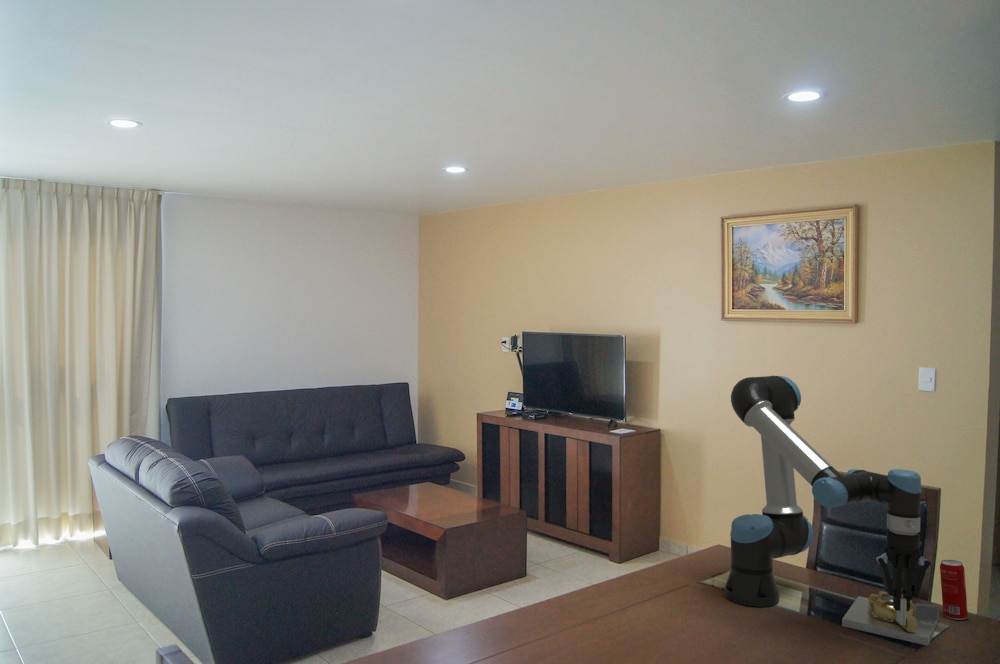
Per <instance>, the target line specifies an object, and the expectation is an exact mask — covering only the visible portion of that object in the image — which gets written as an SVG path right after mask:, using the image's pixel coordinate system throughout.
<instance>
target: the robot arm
mask: <svg viewBox="0 0 1000 664" xmlns="http://www.w3.org/2000/svg"><path fill="white" fill-rule="evenodd" d="M801 395H802V394H801V390H800V388H799V387H798V385H797V384H796V382H794V381H793V380H792V379H791V378H790V377H787V376H782V375H769V376H767V375H766V376H765V375H764V376H750V377H745V378H742V379H741V380H739V381H738V382H737V383H736V384H735V385H734V386H733V388H732V390H731V394H730V402H731V407H732V409H733V411H734V413H735V415H736V416H737V417H738V419H740V420H741V422H743V424H744V425H746V427H751V428H752V427H753V429H755V430H756V431H757V433H758V434H759V435H760V439H761V441H760V442H761V450H762V451H761V453H762V454H761V455H762V463H763V464H762V465H763V475H764V487H765V497H766V499H765V501H766V505H765V506H764V507H763V508H762V509H761V512H762V514H759V513H758V514H757V513H752V514H750V513H749V514H742V515H738V516H737V517H735V518H733V519H732V522H731V528H730V529H731V530H730V534H729V536H730V571H729V574H728V577H727V580H726V582H725V585H724V596H725V598H727V600H729V599H730V601H731V602H732V603H735V604H738V603H739V605H742V604H743V606H746V605H748V606H747V607H753V606H756V607H758V608H764V607H765V608H766V607H772V606H775V605H777V604H778V603H779V602H780V591H779V589H778V586H777V582H776V579H775V576H774V573H773V572H774V571H773V568H774V563H773V562H774V561H773V560H775V559H778V558H784V557H788V556H795V555H798V554H800V553H803V552H805V551H806V550H808V549H809V547H811V545H812V542H813V540H814V539H813V538H814V531H813V526H812V523H811V522H810V521H809V519H808V517H806V516H805V515H804V511H803V509H802V508H801V507H800V506H799V505H798V503H797V502H798V501H797V493H796V480H795V471H796V472H797V473H798V474H800V476H801V477H802V478H803V479H804V480H805V481H806V482H807V483H808V484H809V485H810V486H811V493H812V496H813V498H814V500H815V502H816V503H817V504H818V505H820V506H822V507H824V508H839V507H842V506H846V505H850V504H851V505H852V504H858V503H864V502H868V501H870V502H873V503H878V504H882V505H887V506H886V511H887V512H886V513H887V514H886V528H887V530H886V541H885V542H886V543H885V544H886V548H885V550H884V553H882V554H881V555H875V556H874V559H875V561H876V562H877V564H878V566H879V569H880V573H881V579H882V583H883V586H884V592H887V593H888V594H889V596H893V608H894V609H895V610H897V613H896V621H897V622H898V623H899V624H901V625H906V611H909V610H910V600H911V601H913V598H917V597H919V596H920V592H921V589H922V585H923V583H924V582H923V581H924V579H925V575H926V572H927V570H928V568H929V567H930V566H931V564H932V562H931V561H930V560H928V559H927V558H925V557H923V556H922V553H921V551H920V548H921V547H920V546H921V535H920V532H921V502H922V493H923V489H922V479H921V475H920V473H918V472H916V471H915V470H910V469H909V470H908V469H903V468H902V469H901V468H900V469H899V468H897V469H895V468H894V469H889V471H888V473H887V474H881V473H877V472H872V471H868V470H865V469H857V468H856V469H855V468H851V469H849V470H847V471H846V473H844V474H841V473H840V472H839V471H838V470H837V469H836V468H835V467H834V466H832V465H831V463H830V462H828V461H827V460H826V459H825V458H824V457H823V456H822V455H821V454H820V453H819V452H818V451H817V450H816V449H815V448H814V447H812V445H810V443H808V442H807V441H806V440H805V439H804V438H803V437H802V436H801V435H800V434H799V433H798V432H797V431H796V430H795V429H794V428H793V427H792V426H791V424H792V423H793V422H794V421H795V420H796V419H795V418H796V417H795V412H796V411H797V410H798V409H799V406H800V405H801V402H802V396H801ZM888 561H889V562H890V564H891V567H892V579H891V575H890V571H889V570H890V569H889V567H888V565H887V564H888ZM916 564H917V565H916ZM914 566H916V568H915V571H914ZM913 572H914V575H913ZM901 595H903V596H901ZM756 607H755V608H756Z"/></svg>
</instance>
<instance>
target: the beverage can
mask: <svg viewBox="0 0 1000 664" xmlns="http://www.w3.org/2000/svg"><path fill="white" fill-rule="evenodd" d="M939 572H940V573H939V574H940V587H941V597H942V598H941V601H942V612H943V613H942V614H943V615H944V617H946V618H948V619H951V620H956V621H957V620H959V621H964V620H967V618H968V615H969V614H968V601H967V599H968V598H967V588H966V587H967V585H966V575H965V574H966V573H965V567H964V565H963V562H961V561H960V560H959V561H958V560H955V559H942V560H941V561H940V564H939Z"/></svg>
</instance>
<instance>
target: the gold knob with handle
mask: <svg viewBox="0 0 1000 664" xmlns="http://www.w3.org/2000/svg"><path fill="white" fill-rule="evenodd" d="M901 596H903V595H902V594H901ZM867 598H868V612H869V614H871V615H872V616H874V617H876V618H878V619H881V620H885V621H889V622H896V623H898V622H897V621H896V613H897V610H895V609H894V608H893V596H890V595H889V594H888V593H887V592H886V591H882V590H881V591H878V594H875V593H870V596H869V597H867ZM914 608H915V603H913V600H910V610H909V611H906V625H901V624H899V623H898V624H899V625H900V626H902V627H903V628H904V629H905V630H907V631H908V632H917V619H916V618H915V617H914Z"/></svg>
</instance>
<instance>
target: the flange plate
mask: <svg viewBox="0 0 1000 664" xmlns="http://www.w3.org/2000/svg"><path fill="white" fill-rule="evenodd" d="M868 598H869V597H864V596H860V595H859V596H857V597H856V598H855V600H854V601H853V603H852V604H851V606H850V607H849V609H848V610H847V612H846V613H845V614H844V616H843V617H842V619H841V621H842V622H841V625H842V627H844V628H849V629H854V630H858V631H862V632H867V633H871V634H875V635H879V636H884V637H889V638H892V639H897V640H901V641H906V642H908V643H909V642H910V643H914V644H918V645H923V646H927V647H929V646H930V643H931V640H932V638H933V636H934V634H935V631H936V627H937V625H938V624H939V620H940V615H939V613H940V612H938V611H939V610H938V606H937V605H936V604H931V603H914V617H915V618H916V619H917V632H908V631H907V630H905V629H904V628H903V627H902V626H900V625H899V624H898V623H896V622H889V621H885V620H881V619H878V618H876V617H874V616H872V615H871V614H869V612H868Z"/></svg>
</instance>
